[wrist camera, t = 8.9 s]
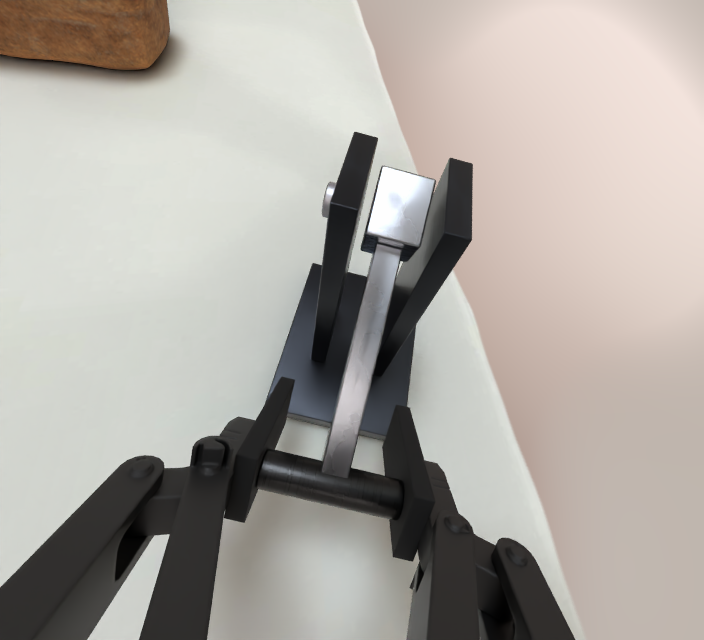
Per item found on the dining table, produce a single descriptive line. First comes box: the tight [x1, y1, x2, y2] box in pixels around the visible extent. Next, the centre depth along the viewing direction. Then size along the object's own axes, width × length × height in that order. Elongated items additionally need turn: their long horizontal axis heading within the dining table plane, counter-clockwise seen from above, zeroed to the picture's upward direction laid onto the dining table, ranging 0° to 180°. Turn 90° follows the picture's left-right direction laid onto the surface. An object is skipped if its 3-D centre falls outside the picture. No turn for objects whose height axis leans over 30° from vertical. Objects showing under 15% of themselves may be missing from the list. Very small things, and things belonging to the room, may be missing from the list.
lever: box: [256, 166, 436, 521], centre depth 13 cm, size 13×6×2 cm, turn 169°
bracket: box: [265, 132, 473, 441], centre depth 19 cm, size 12×9×15 cm
